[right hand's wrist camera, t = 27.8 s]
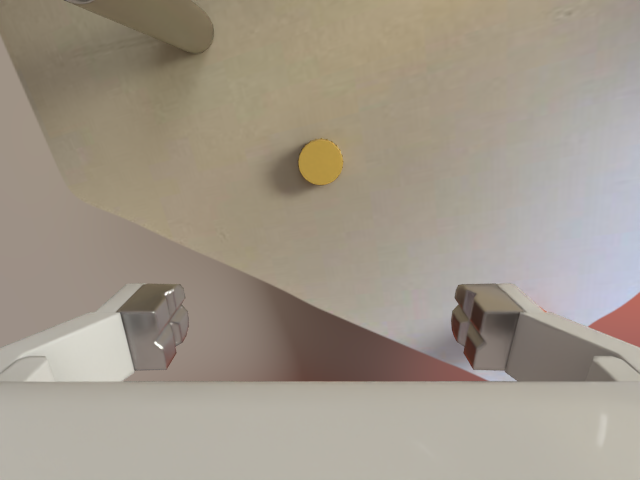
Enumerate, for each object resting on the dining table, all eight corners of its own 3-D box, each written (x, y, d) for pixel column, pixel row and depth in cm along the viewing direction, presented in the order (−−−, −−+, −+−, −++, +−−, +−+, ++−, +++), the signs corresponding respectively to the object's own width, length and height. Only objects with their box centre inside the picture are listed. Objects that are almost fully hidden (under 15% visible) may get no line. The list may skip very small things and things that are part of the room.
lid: (338, 185, 40) (339, 189, 38) (296, 179, 39) (294, 182, 38) (346, 141, 38) (347, 143, 36) (301, 134, 38) (300, 136, 36)
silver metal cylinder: (166, 8, 33) (-17, -110, 15) (208, 2, 33) (73, -125, 15) (178, 56, 35) (23, 0, 17) (217, 50, 35) (106, -12, 17)
